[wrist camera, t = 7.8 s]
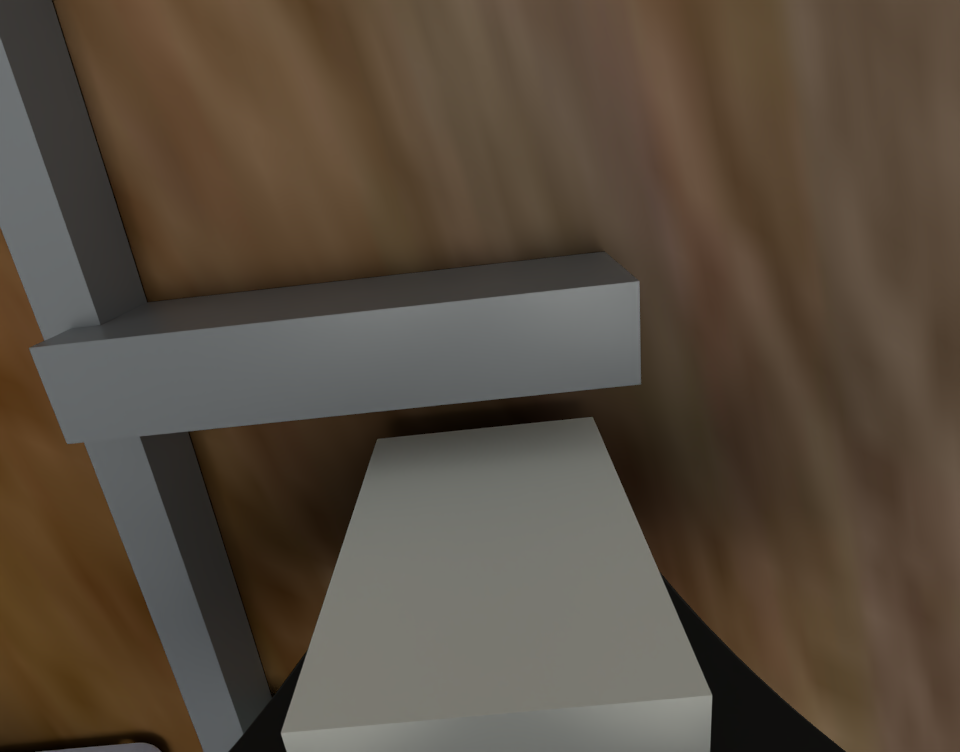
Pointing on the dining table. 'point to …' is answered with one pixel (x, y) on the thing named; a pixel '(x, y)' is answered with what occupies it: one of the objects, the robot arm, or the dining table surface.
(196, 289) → the dining table surface
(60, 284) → the port cradle
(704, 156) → the dining table surface
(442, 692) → the plug block
